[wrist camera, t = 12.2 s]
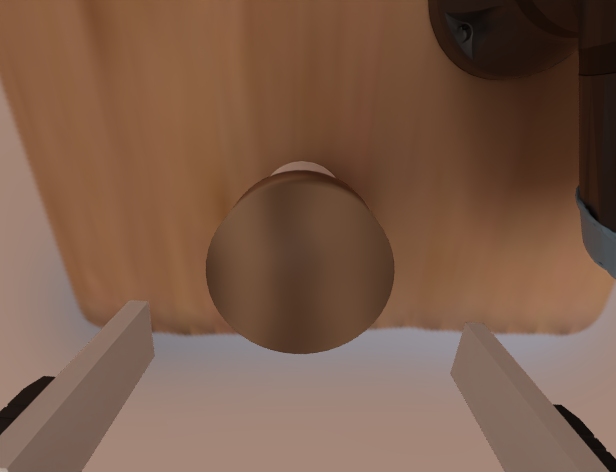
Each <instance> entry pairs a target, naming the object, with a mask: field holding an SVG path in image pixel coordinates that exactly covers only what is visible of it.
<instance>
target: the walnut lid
mask: <svg viewBox="0 0 616 472" xmlns="http://www.w3.org/2000/svg"><path fill="white" fill-rule="evenodd" d="M206 278H207V285H208V288H209V292H210V295H211V298H212V300H213V302H214V305H215V306H216V308H217V310H218V311H219V313H220V314H221V316H222V317H223V318H224V320H225V321H226V322H227V323H228V324H229V325H230V326H231V327H232V328H233V329H234V330H235V331H236V332H238V333H239V334H240V335H242V336H243V337H245V338H246V339H248V340H249V341H251V342H253V343H255V344H257V345H259V346H262V347H264V348H267V349H270V350H274V351H278V352H283V353H292V354H309V353H317V352H322V351H327V350H330V349H333V348H336V347H339V346H341V345H343V344H345V343H348V342H349V341H351V340H353V339H354V338H356V337H358V336H359V335H360V334H362V333H363V332H364V331H365V330H367V329H368V328H369V327H370V326H371V325H372V324H373V323H374V322H375V320H376V319H377V318H378V316H379V315H380V314H381V312H382V310H383V309H384V307H385V305H386V303H387V301H388V299H389V296H390V294H391V290H392V286H393V280H394V259H393V253H392V249H391V246H390V243H389V240H388V238H387V236H386V234H385V232H384V230H383V229H382V227H381V226H380V224H379V223H378V221H377V220H376V219H375V217H374V216H373V214H372V213H371V211H370V210H369V208H368V207H367V206H366V204H365V203H364V201H363V200H362V198H361V197H360V196H359V195H358V194H357V193H356V192H355V191H354V190H353V189H352V188H350V187H349V186H348V185H347V184H345V183H344V182H342V181H340V180H339V179H337V178H334V177H332V176H330V175H327V174H324V173H320V172H316V171H309V170H293V171H285V172H281V173H278V174H274V175H272V176H269V177H267V178H265V179H263V180H261V181H260V182H258V183H256V184H255V185H254V186H252V187H251V188H250V189H249V190H248V191H247V192H246V193H245V194H244V195H243V196H242V197H241V198H240V199H239V201H238V202H237V203H236V205H235V206H234V207H233V208H232V210H231V211H230V212H229V214H228V215H227V216H226V218H225V219H224V220H223V222H222V223H221V224H220V226H219V227H218V229H217V231H216V232H215V234H214V236H213V238H212V241H211V244H210V247H209V249H208V254H207V260H206Z"/></svg>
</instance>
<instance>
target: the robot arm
mask: <svg viewBox="0 0 616 472" xmlns="http://www.w3.org/2000/svg"><path fill="white" fill-rule="evenodd" d="M428 1H429V12H430V18H431V23H432V27H433V30H434V33H435V35H436V37H437V40H438V42H439V44H440V45H441V47H442V49H443V50H444V52H445V53H446V54H447V56H448V57H449V58H450V59H451V60H452V61H453V62H454V63H455V64H456V65H457V66H459V67H460V68H461V69H463V70H464V71H466V72H468V73H470V74H472V75H475V76H478V77H481V78H485V79H492V80H504V79H512V78H517V77H523V76H528V75H531V74H535V73H538V72H541V71H543V70H545V69H548V68H550V67H552V66H554V65H556V64H558V63H559V62H561V61H563V60H564V59H566V58H567V57H568V56H570V55H571V54H572V53H574V52H575V51H576V50H577V49H579V186H578V187H577V188H576V194H575V196H576V203H577V205H578V208H579V209H580V215H581V227H582V238H583V243H584V246H585V248H586V250H587V252H588V253H589V255H590V257H591V258H592V259H593V260H594V262H595V263H597V264H598V265H599V266H600V267H602V268H603V269H605V270H607V271H608V273H609V274H610V275H611V276H612V277H613V278H614V279H616V0H428ZM153 357H154V347H153V338H152V328H151V319H150V310H149V301H135V300H129V301H128V302H127V303H126V304H125V305H124V306H123V307H122V308H121V310H120V311H119V312H118V313H117V314H116V315H115V316H114V317H113V318H112V319H111V320H110V321H109V322H108V323H107V324H106V325H105V326H104V327H103V328H102V329H101V330H100V332H99V333H98V334H97V335H96V336H95V337H94V338H93V339H92V340H91V341H90V342H89V343H88V344H87V345H86V346H85V347H84V349H82V350H81V352H79V354H78V355H77V356H76V357H75V358H74V359H73V360H72V361H71V362H70V363H69V364H68V365H67V366H66V367H65V368H64V369H63V370H62V371H61V372H60V373H59V374H58V375H57V376H56V377H50V376H43V377H42V378H40V379H38V380H37V381H35V382H34V383H32V384H30V385H29V386H27V387H26V388H24V389H23V390H22V391H21V392H20V393H19V394H18V395H17V396H16V397H15V398H14V399H12V400H11V401H10V403H8V406H7V407H4V408H3V409H2V410H1V411H0V472H82V470H83V468H84V467H85V465H86V463H87V462H88V461H89V459H90V457H91V456H92V454H93V453H94V451H95V449H96V448H97V446H98V445H99V443H100V441H101V440H102V438H103V437H104V435H105V434H106V432H107V430H108V429H109V427H110V426H111V424H112V422H113V421H114V419H115V418H116V416H117V414H118V413H119V411H120V410H121V408H122V407H123V405H124V403H125V402H126V400H127V399H128V397H129V396H130V394H131V392H132V391H133V389H134V388H135V386H136V384H137V383H138V381H139V380H140V378H141V377H142V375H143V373H144V372H145V370H146V369H147V367H148V365H149V364H150V362H151V361H152V359H153ZM451 376H452V377H453V379H454V381H455V383H456V384H457V387H458V388H459V390H460V392H461V394H462V395H463V397H464V399H465V401H466V403H467V405H468V406H469V408H470V410H471V412H472V413H473V415H474V417H475V419H476V421H477V423H478V424H479V426H480V428H481V430H482V431H483V433H484V435H485V437H486V439H487V440H488V442H489V444H490V446H491V448H492V450H493V451H494V453H495V455H496V457H497V459H498V460H499V462H500V464H501V466H502V468H503V469H504V471H505V472H616V459H615V458H614V457H613V456H612V455H611V453H610V452H607V451H606V448H605V447H604V446H603V445H602V443H601V442H600V441H599V440H598V439H597V438H594V435H593V433H592V432H591V431H590V430H589V429H588V428H587V427H586V426H585V424H584V423H583V422H582V421H581V420H580V419H579V418H578V417H576V416H575V415H574V414H572V413H571V412H570V411H568V410H567V409H566V408H565V407H563V406H562V405H553V404H552V403H551V402H550V401H549V400H548V399H547V397H546V396H545V395H544V394H543V393H542V391H541V390H540V389H539V388H538V387H537V386H536V385H535V383H534V382H533V381H532V380H531V379H530V377H529V376H528V375H527V374H526V373H525V371H524V370H523V369H522V368H521V367H520V366H519V364H518V363H517V362H516V361H515V360H514V358H513V357H512V356H511V355H510V354H509V353H508V351H507V350H506V349H505V348H504V347H503V346H502V344H501V343H500V342H499V341H498V340H497V338H496V337H495V336H494V335H493V334H492V333H491V331H490V330H489V329H488V328H487V327H486V325H485V324H484V323H472V322H466V323H465V326H464V329H463V333H462V336H461V340H460V343H459V347H458V350H457V353H456V357H455V360H454V363H453V367H452V370H451Z"/></svg>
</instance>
